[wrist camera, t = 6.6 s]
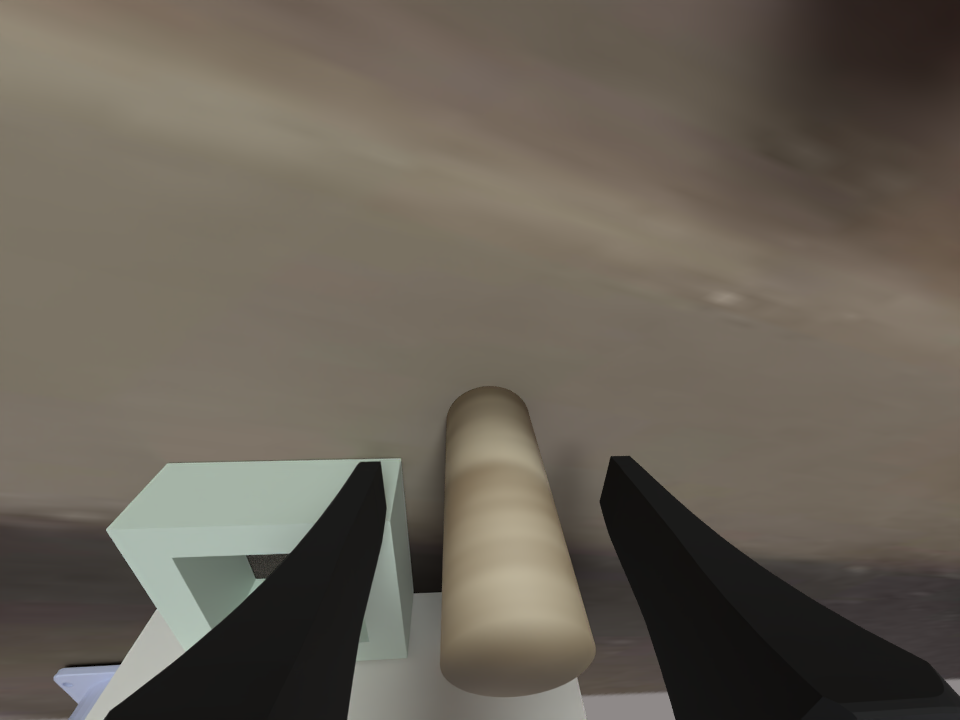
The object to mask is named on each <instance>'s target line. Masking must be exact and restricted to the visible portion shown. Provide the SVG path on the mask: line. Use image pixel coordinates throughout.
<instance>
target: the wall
mask: <svg viewBox="0 0 960 720" xmlns="http://www.w3.org/2000/svg"><path fill="white" fill-rule="evenodd" d="M441 605H442V592H435V593H413V603H412V614H411V624H410V635H409V645H408V656H407V658H401V659H383V660H364V661H356V664H355V670H354V677H353V683H352V690H351V697H350V704H349V711H348V717H347V720H587V718H586V714H585V710H584V705H583V701H582V697H581V692H580V688H579V684H578V680H577V677H576V678H575V679H573V680H572V681H570V682H568V683H566V684H564V685H562V686H560V687H557V688H554V689H552V690H549V691H545V692H542V693H537V694H533V695H527V696H519V697H489V696H482V695H477V694H473V693H469V692H466V691H464V690H461V689H459V688H457V687H455V686H454V685H452V684H451V683H450V682H449V681H447V680H446V678H445V677H444V676H443V674H442V672H441V669H440V641H441ZM184 653H185V650H184V649H183V647H182V646H181V644H180V643H179V641H178V640H177V638H176V637H175V635H174V634H173V632H172V631H171V629H170V627H169V626H168V624H167V623H166V621H165V620H164V618H163V617H162V615H161V614H160V612H159V611H158V609H157V610H156V611H155V613H154V614H153V616H152V617H151V619H150V620H149V622H148V623H147V625H146V626H145V628H144V629H143V631H142V633H141V634H140V636H139V637H138V639H137V640H136V642H135V643H134V645H133V646H132V648H131V649H130V651H129V652H128V654H127V655H126V657H125V659H124V660H123V662H122V663H121V665H120V666H119V668H118V669H117V671H116V672H115V674H114V675H113V677H112V678H111V680H110V681H109V683H108V685H107V686H106V688H105V689H104V691H103V692H102V694H101V695H100V697H99V698H98V700H97V701H96V703H95V704H94V706H93V707H92V709H91V711H90V712H89V714H88V715H87V717H86V718H85V720H104V718H105V717H106V715H107V714H108V712H109V711H110V710H111V709H113V708H114V707H115V706H117V705H118V704H119V703H121V702H122V701H124V700H125V699H126V698H127V697H129V696H130V695H131V694H133V693H134V692H135V691H137V690H138V689H139V688H140V687H142V686H143V685H144V684H146V683H147V682H148V681H149V680H151V679H152V678H153V677H155V676H156V675H157V674H159V673H160V672H161V671H162V670H164V669H165V668H166V667H168V666H169V665H170V664H171V663H173V662H174V661H175V660H176V659H178V658H179V657H180V656H181V655H182V654H184Z"/></svg>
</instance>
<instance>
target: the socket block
mask: <svg viewBox="0 0 960 720" xmlns="http://www.w3.org/2000/svg"><path fill="white" fill-rule="evenodd" d="M369 461H381V467H382V475H383V483H384V491H385V498H386V506H387V510H386V518H385V526H384V533H383V541H382V545H381V549H380V554H379V558H378V562H377V566H376V570H375V574H374V578H373V582H372V586H371V591H370V595H369V599H368V603H367V607H366V611H365V615H364V619H363V624H362V629H361V633H360V638H359V645H358V651H357V657H356V661H364V660H383V659H401V658H407V656H408V645H409V635H410V624H411V614H412V603H413V592H414V589H413V579H412V568H411V558H410V547H409V537H408V526H407V516H406V505H405V495H404V484H403V474H402V463H401V458H392V459H345V460H298V461H251V462H204V463H167V464H166V465H165V467H164V468H163V469H162V470H161V471H160V472H159V473H158V474H157V475H156V476H155V477H154V478H153V479H152V481H151V482H150V483H149V484H148V485H147V486H146V487H145V488H144V489H143V490H142V491H141V492H140V493H139V495H138V496H137V497H136V498H135V499H134V500H133V501H132V502H131V503H130V504H129V505H128V506H127V508H126V509H125V510H124V511H123V512H122V513H121V514H120V515H119V516H118V517H117V518H116V519H115V520H114V522H113V523H112V524H111V525H110V526H109V527H108V528H107V529H106V531H107V532H108V534H109V535H110V537H111V538H112V540H113V541H114V543H115V545H116V546H117V548H118V549H119V551H120V552H121V554H122V555H123V557H124V558H125V560H126V561H127V563H128V564H129V566H130V568H131V569H132V571H133V572H134V574H135V575H136V577H137V578H138V580H139V581H140V583H141V584H142V586H143V588H144V589H145V591H146V592H147V594H148V595H149V597H150V598H151V600H152V601H153V603H154V604H155V606H156V607H157V609H158V611H159V612H160V614H161V615H162V617H163V618H164V620H165V621H166V623H167V624H168V626H169V627H170V629H171V631H172V632H173V634H174V635H175V637H176V638H177V640H178V641H179V643H180V644H181V646H182V647H183V649H184V650H185V652H186V651H187V650H188V649H190V648H191V647H192V646H193V645H194V644H195V643H197V642H198V641H199V640H200V639H201V638H202V637H204V636H205V635H206V634H207V633H208V632H209V631H211V630H212V629H213V628H214V627H215V626H216V625H218V624H219V623H220V622H221V621H222V620H223V619H224V618H226V617H227V616H228V615H229V614H230V613H231V612H232V611H233V610H234V609H235V608H236V607H238V606H239V605H240V604H241V603H242V602H243V601H244V600H245V599H246V598H247V597H248V596H249V595H250V594H251V593H252V592H253V591H254V590H255V589H256V588H257V587H258V586H259V585H260V584H261V583H262V582H263V581H264V580H265V579H256V578H255V576H254V573H253V571H252V569H251V566H250V564H249V561H248V559H247V557H246V555H261V554H288V553H291V551H292V550H293V549H294V548H295V547H296V546H297V545H298V543H299V542H300V541H301V540H302V539H303V537H304V536H305V535H306V534H307V533H308V531H309V530H310V529H311V528H312V527H313V525H314V524H315V523H316V522H317V520H318V519H319V518H320V517H321V515H322V514H323V513H324V511H325V510H326V509H327V507H328V506H329V505H330V503H331V502H332V501H333V499H334V498H335V497H336V495H337V494H338V492H339V491H340V490H341V488H342V487H343V485H344V484H345V482H346V481H347V479H348V478H349V476H350V475H351V473H352V472H353V470H354V469H355V467H356V466H357V464H358V463H360V462H369Z"/></svg>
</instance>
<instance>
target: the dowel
mask: <svg viewBox="0 0 960 720" xmlns="http://www.w3.org/2000/svg"><path fill="white" fill-rule="evenodd" d="M595 652H596V648H595V643H594V640H593V636H592V633H591V629H590V626H589V622H588V619H587V615H586V612H585V608H584V605H583V601H582V598H581V594H580V591H579V587H578V584H577V580H576V577H575V573H574V570H573V566H572V563H571V559H570V556H569V552H568V549H567V545H566V542H565V538H564V535H563V531H562V528H561V524H560V521H559V517H558V514H557V510H556V507H555V503H554V500H553V497H552V493H551V490H550V486H549V483H548V479H547V476H546V472H545V469H544V465H543V462H542V458H541V455H540V451H539V448H538V444H537V441H536V437H535V434H534V430H533V427H532V423H531V420H530V416H529V413H528V409H527V407H526V405H525V403H524V402H523V400H522V399H521V398H520V397H519V396H518V395H516V394H515V393H513V392H512V391H510V390H507V389H504V388H501V387H494V386H486V387H479V388H475V389H472V390H470V391H468V392H466V393H464V394H463V395H461V396H460V397H459V398H458V399H456V400H455V402H454V403H453V404H452V406H451V407H450V409H449V412H448V415H447V429H446V464H445V499H444V535H443V570H442V605H441V641H440V669H441V672H442V674H443V676H444V677H445V678H446V680H447V681H449V682H450V683H451V684H452V685H454V686H455V687H457V688H459V689H461V690H464V691H466V692H469V693H473V694H477V695H482V696H489V697H519V696H527V695H533V694H537V693H542V692H545V691H549V690H552V689H554V688H557V687H560V686H562V685H564V684H566V683H568V682H570V681H572V680H573V679H575V678H576V677H578V676H579V675H581V674H582V673H583V672H584V671H585V670H586V669H587V668H588V667H589V666H590V664H591V663H592V661H593V659H594V657H595Z"/></svg>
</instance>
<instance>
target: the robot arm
mask: <svg viewBox="0 0 960 720" xmlns="http://www.w3.org/2000/svg"><path fill="white" fill-rule="evenodd" d="M600 505H601V509H602V513H603V516H604V520H605V523H606V527H607V530H608V533H609V536H610V538H611V541H612V543H613V545H614V548H615V550H616V553H617V555H618V557H619V560H620V562H621V564H622V567H623V569H624V571H625V574H626V576H627V578H628V581H629V583H630V585H631V588H632V590H633V593H634V595H635V597H636V600H637V602H638V604H639V607H640V609H641V612H642V614H643V617H644V620H645V622H646V625H647V628H648V631H649V634H650V637H651V640H652V643H653V646H654V650H655V653H656V656H657V659H658V662H659V665H660V669H661V672H662V675H663V678H664V682H665V685H666V688H667V692H668V695H669V698H670V701H671V705H672V709H673V712H674V716H675V719H676V720H960V696H959V695H958V694H957V693H956V692H955V691H954V690H953V689H952V688H951V687H950V685H949V684H948V683H947V682H946V681H945V680H944V679H943V678H942V677H941V676H940V675H939V674H938V673H937V671H936V670H935V669H934V668H933V667H932V666H931V665H930V664H929V663H928V662H927V661H925V660H923V659H921V658H919V657H917V656H915V655H913V654H911V653H909V652H907V651H905V650H903V649H902V648H900V647H898V646H896V645H894V644H892V643H890V642H888V641H886V640H884V639H882V638H880V637H878V636H877V635H875V634H873V633H871V632H869V631H867V630H865V629H863V628H861V627H860V626H858V625H856V624H854V623H853V622H851V621H849V620H847V619H846V618H844V617H842V616H840V615H839V614H837V613H835V612H833V611H832V610H830V609H828V608H826V607H825V606H823V605H821V604H820V603H818V602H816V601H815V600H813V599H811V598H810V597H808V596H806V595H805V594H803V593H802V592H800V591H798V590H797V589H795V588H794V587H792V586H791V585H789V584H788V583H786V582H784V581H783V580H781V579H780V578H778V577H777V576H775V575H774V574H772V573H771V572H769V571H768V570H766V569H765V568H763V567H762V566H760V565H759V564H758V563H756V562H755V561H753V560H752V559H751V558H749V557H748V556H746V555H745V554H744V553H742V552H741V551H740V550H738V549H737V548H735V547H734V546H733V545H731V544H730V543H729V542H727V541H726V540H725V539H724V538H722V537H721V536H720V535H718V534H717V533H716V532H715V531H714V530H712V529H711V528H710V527H709V526H707V525H706V524H705V523H704V522H702V521H701V520H700V519H699V518H698V517H696V516H695V515H694V514H693V513H692V512H691V511H689V510H688V509H687V508H686V507H685V506H684V505H683V504H681V503H680V502H679V501H678V500H677V499H676V498H675V497H674V496H672V495H671V494H670V493H669V492H668V491H667V490H666V489H665V488H664V487H663V486H662V485H660V484H659V483H658V482H657V481H656V480H655V479H654V478H653V477H652V476H651V475H650V474H649V473H648V472H647V471H645V470H644V469H643V468H642V467H641V466H640V465H639V464H638V463H637V462H636V461H635V460H634V459H632V458H631V457H630V456H611V458H610V462H609V466H608V470H607V474H606V478H605V482H604V486H603V490H602V494H601V498H600ZM386 510H387V506H386V498H385V491H384V483H383V475H382V467H381V461H369V462H360V463H358V464H357V466H356V467H355V469H354V470H353V472H352V473H351V475H350V476H349V478H348V479H347V481H346V482H345V484H344V485H343V487H342V488H341V490H340V491H339V492H338V494H337V495H336V497H335V498H334V499H333V501H332V502H331V503H330V505H329V506H328V507H327V509H326V510H325V511H324V513H323V514H322V515H321V517H320V518H319V519H318V520H317V522H316V523H315V524H314V525H313V527H312V528H311V529H310V530H309V531H308V533H307V534H306V535H305V536H304V537H303V539H302V540H301V541H300V542H299V543H298V545H297V546H296V547H295V548H294V549H293V550H292V551H291V553H290V554H289V555H288V556H287V557H286V558H285V559H284V560H283V561H282V563H281V564H280V565H279V566H278V567H277V568H276V569H275V570H274V571H273V572H272V573H271V574H270V575H269V576H268V577H267V578H266V579H265V580H264V581H263V582H262V583H261V584H260V585H259V586H258V587H257V588H256V589H255V590H254V591H253V592H252V593H251V594H250V595H249V596H248V597H247V598H246V599H245V600H244V601H243V602H242V603H241V604H240V605H239V606H238V607H236V608H235V609H234V610H233V611H232V612H231V613H230V614H229V615H228V616H227V617H226V618H224V619H223V620H222V621H221V622H220V623H219V624H218V625H216V626H215V627H214V628H213V629H212V630H211V631H209V632H208V633H207V634H206V635H205V636H204V637H202V638H201V639H200V640H199V641H198V642H197V643H195V644H194V645H193V646H192V647H191V648H190V649H188V650H187V651H186V652H185V653H184V654H182V655H181V656H180V657H179V658H178V659H176V660H175V661H174V662H173V663H171V664H170V665H169V666H168V667H166V668H165V669H164V670H162V671H161V672H160V673H159V674H157V675H156V676H155V677H153V678H152V679H151V680H149V681H148V682H147V683H146V684H144V685H143V686H142V687H140V688H139V689H138V690H137V691H135V692H134V693H133V694H131V695H130V696H129V697H127V698H126V699H125V700H124V701H122V702H121V703H119V704H118V705H117V706H115V707H114V708H113V709H111V710H110V711H109V712H108V714H107V715H106V717H105V718H104V720H347V717H348V711H349V704H350V697H351V690H352V683H353V677H354V670H355V664H356V657H357V651H358V645H359V638H360V633H361V629H362V624H363V619H364V615H365V611H366V607H367V603H368V599H369V595H370V591H371V586H372V582H373V578H374V574H375V570H376V566H377V562H378V558H379V554H380V549H381V545H382V541H383V533H384V526H385V518H386ZM119 666H120V665H106V666H87V667H68V668H62V669H60V670H59V671H58V672H57V674H56V675H55V676H54V681H55V682H56V683H57V684H58V685H59V686H60V687H61V688H62V689H64V690H65V691H66V692H67V693H68V694H69V695H70V696H71V697H72V698H73V699H74V700H75V701H76V702H77V703H78V706H77V707H76V709H75V710H74V712H73V713H72V715H71V716H70V718H69V719H68V720H85V718H86V717H87V715H88V714H89V712H90V711H91V709H92V707H93V706H94V704H95V703H96V701H97V700H98V698H99V697H100V695H101V694H102V692H103V691H104V689H105V688H106V686H107V685H108V683H109V681H110V680H111V678H112V677H113V675H114V674H115V672H116V671H117V669H118V668H119Z"/></svg>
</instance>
